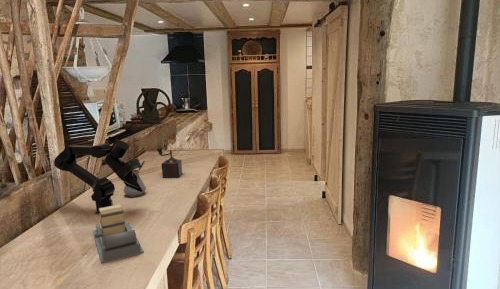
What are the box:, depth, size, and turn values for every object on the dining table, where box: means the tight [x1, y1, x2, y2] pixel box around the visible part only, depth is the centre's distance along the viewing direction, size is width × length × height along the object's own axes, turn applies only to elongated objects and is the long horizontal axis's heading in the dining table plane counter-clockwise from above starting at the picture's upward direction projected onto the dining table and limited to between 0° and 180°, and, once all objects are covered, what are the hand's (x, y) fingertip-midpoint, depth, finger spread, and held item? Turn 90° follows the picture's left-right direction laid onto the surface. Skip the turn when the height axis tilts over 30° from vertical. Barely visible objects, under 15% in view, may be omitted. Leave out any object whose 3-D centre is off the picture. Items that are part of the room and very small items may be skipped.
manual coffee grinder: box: [156, 146, 183, 179], centre depth 221 cm, size 16×11×18 cm
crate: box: [98, 203, 125, 236], centre depth 140 cm, size 7×8×10 cm
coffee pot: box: [123, 160, 148, 198], centre depth 193 cm, size 21×12×15 cm, turn 173°
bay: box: [92, 217, 144, 264], centre depth 133 cm, size 29×15×10 cm, turn 29°
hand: (140, 189), depth 157 cm, fingers open, 9 cm apart
